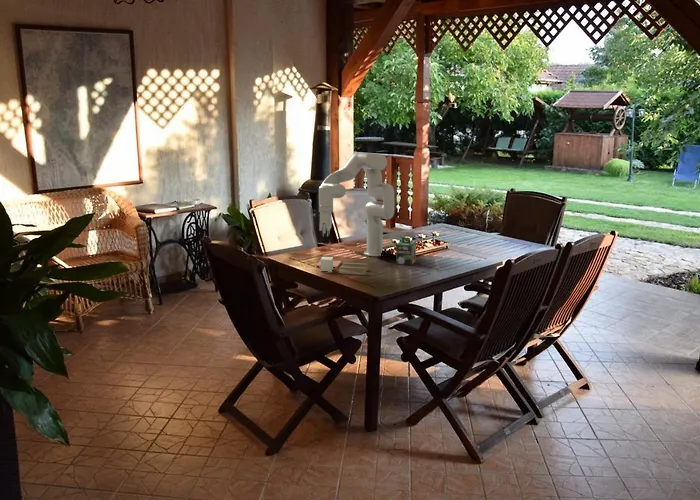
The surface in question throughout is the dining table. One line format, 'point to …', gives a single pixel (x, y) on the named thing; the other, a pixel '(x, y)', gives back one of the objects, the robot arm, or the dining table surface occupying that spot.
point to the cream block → (327, 264)
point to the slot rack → (353, 268)
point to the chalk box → (406, 252)
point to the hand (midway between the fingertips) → (326, 242)
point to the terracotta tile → (335, 263)
